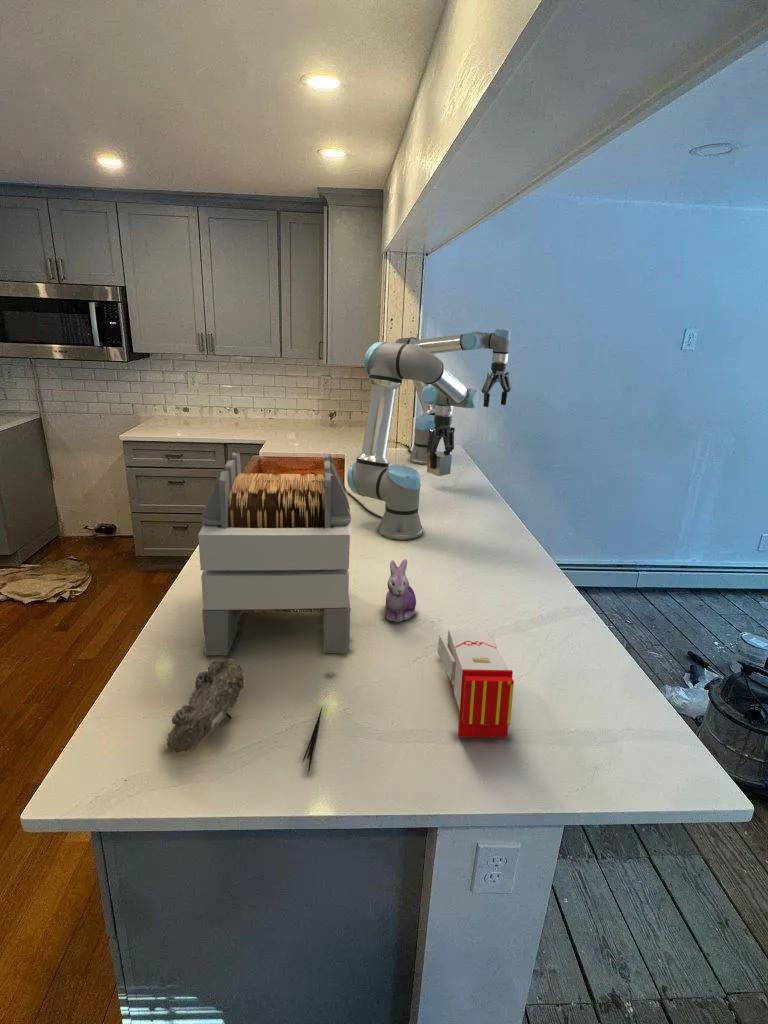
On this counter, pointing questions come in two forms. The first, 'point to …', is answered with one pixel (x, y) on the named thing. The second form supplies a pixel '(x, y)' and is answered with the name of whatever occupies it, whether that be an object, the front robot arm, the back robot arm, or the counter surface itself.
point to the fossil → (206, 705)
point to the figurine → (399, 594)
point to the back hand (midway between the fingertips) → (494, 405)
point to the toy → (478, 682)
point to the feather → (313, 740)
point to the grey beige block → (440, 464)
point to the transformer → (275, 551)
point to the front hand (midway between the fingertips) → (439, 467)
